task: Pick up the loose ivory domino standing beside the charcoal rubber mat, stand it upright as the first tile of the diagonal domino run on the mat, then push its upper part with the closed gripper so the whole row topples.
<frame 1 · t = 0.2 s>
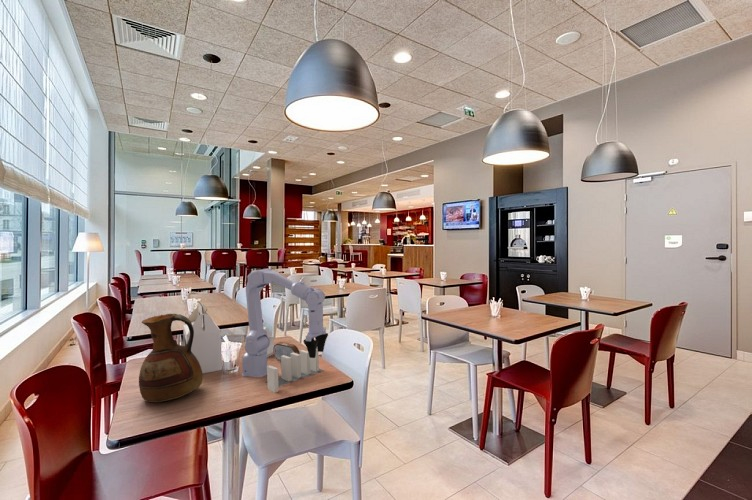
hand: (316, 354, 144), 10 cm above the table, tool pointing down, fingers open, 7 cm apart
ceramic pitcher: (172, 396, 131), on the table
domino 4: (305, 372, 150), resting on mat
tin: (286, 361, 167), on the table
domino 5: (313, 369, 153), resting on mat
domino 1: (273, 391, 133), on the table
soft serve ice cream: (263, 354, 179), on the table
domino 3: (296, 376, 147), resting on mat
domino 2: (286, 379, 143), resting on mat
gable box: (202, 366, 163), on the table
mat: (296, 377, 147), on the table
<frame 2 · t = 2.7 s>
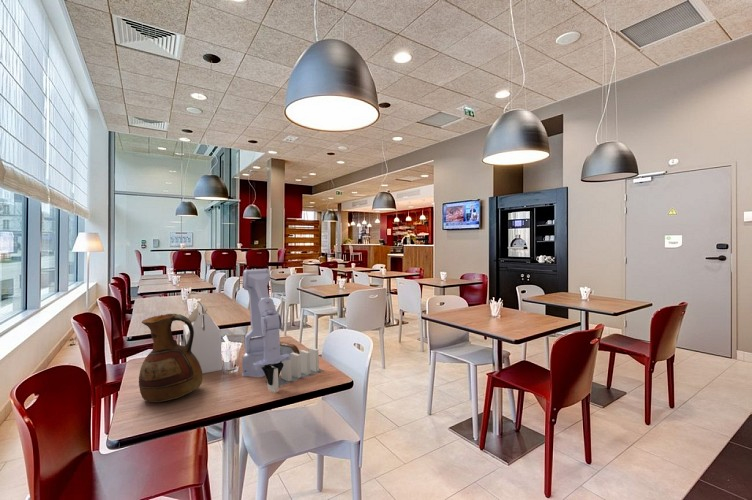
hand: (272, 383, 133), 3 cm above the table, tool pointing down, fingers closed on domino 1, 1 cm apart
domino 1: (273, 391, 133), on the table, touching gripper
everything else where it was.
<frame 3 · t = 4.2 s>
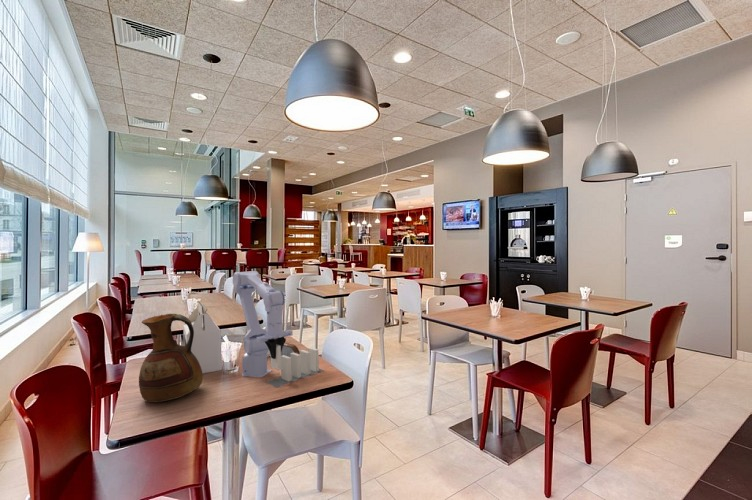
hand: (275, 357, 140), 10 cm above the table, tool pointing down, fingers closed on domino 1
domino 1: (276, 368, 140), point 6 cm above the table, touching gripper
everything else where it was.
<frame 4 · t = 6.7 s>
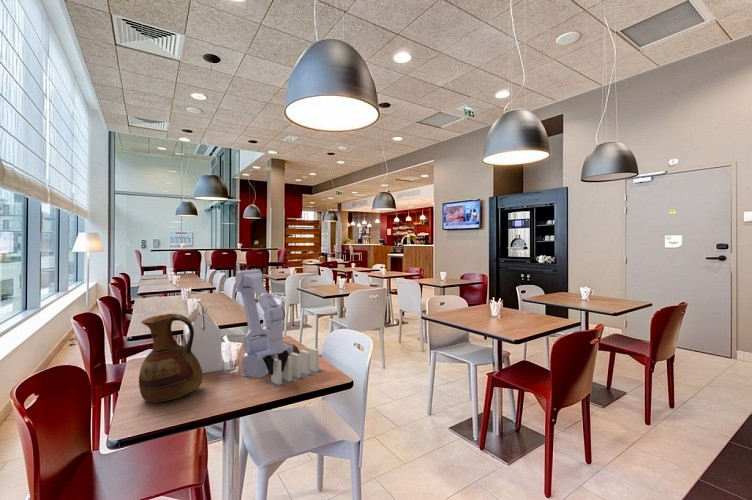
hand: (276, 372, 140), 4 cm above the table, tool pointing down, fingers open, 4 cm apart
domino 1: (276, 382, 140), resting on mat
domino 2: (286, 379, 143), point 1 cm above the table, touching gripper, mat
everything else where it was.
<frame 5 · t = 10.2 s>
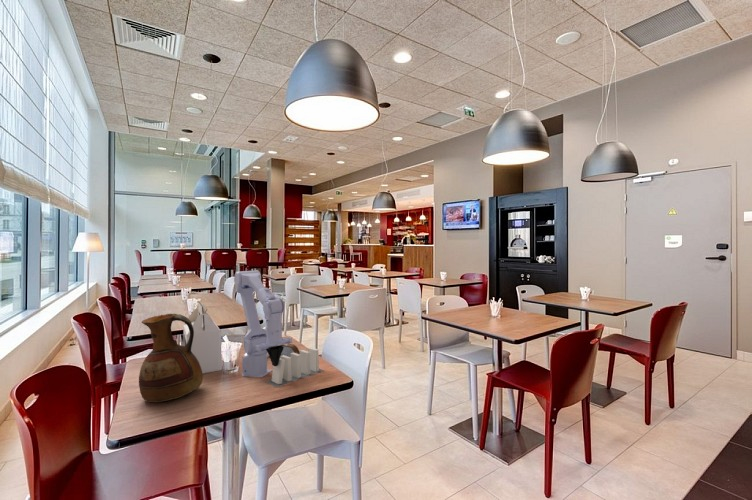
hand: (275, 365, 140), 7 cm above the table, tool pointing down, fingers closed
domino 1: (276, 382, 140), point 1 cm above the table, tilted 11°, touching mat
domino 2: (286, 379, 143), resting on mat
everything else where it was.
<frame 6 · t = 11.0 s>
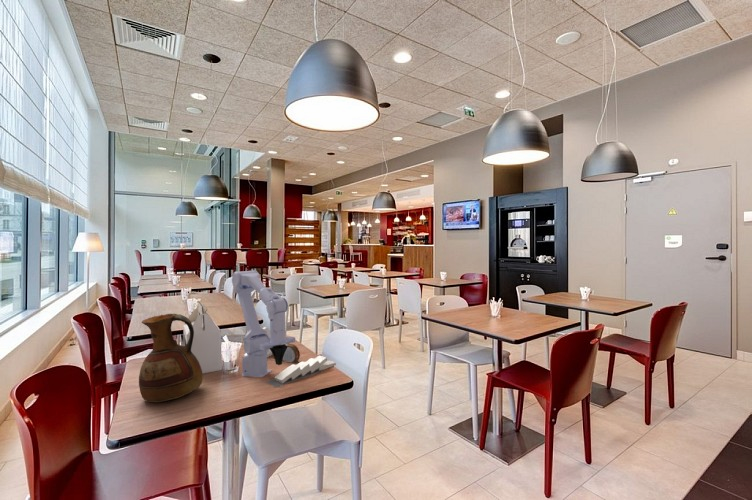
hand: (278, 364, 141), 7 cm above the table, tool pointing down, fingers closed
domino 4: (307, 370, 151), point 1 cm above the table, tilted 70°, touching domino 3, domino 5
domino 5: (315, 367, 154), point 1 cm above the table, tilted 94°, touching domino 4, mat
domino 1: (278, 380, 141), point 1 cm above the table, tilted 71°, touching domino 2, mat
domino 3: (298, 373, 148), point 1 cm above the table, tilted 70°, touching domino 2, domino 4, mat
domino 2: (288, 376, 144), point 1 cm above the table, tilted 71°, touching domino 1, domino 3, mat
everything else where it was.
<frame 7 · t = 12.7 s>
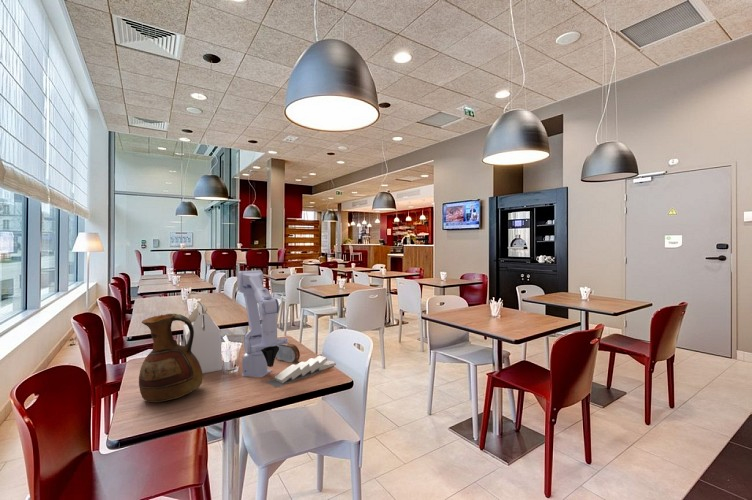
hand: (270, 366, 138), 8 cm above the table, tool pointing down, fingers closed
nothing on the table moved.
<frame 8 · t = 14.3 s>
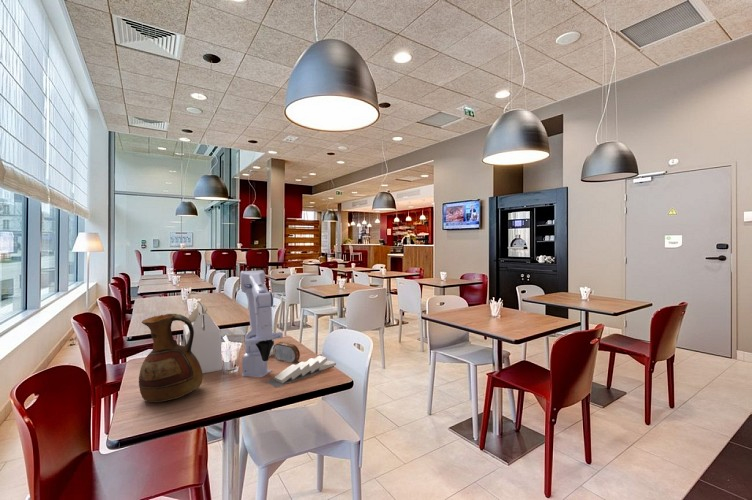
hand: (265, 360, 137), 10 cm above the table, tool pointing down, fingers closed
nothing on the table moved.
at the end: domino 5 tilted 94°; domino 1 tilted 71°; domino 1 0.9 cm from the target spot on the mat, point 1.2 cm above the mat's base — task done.
